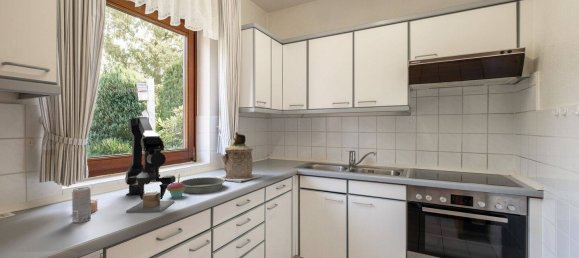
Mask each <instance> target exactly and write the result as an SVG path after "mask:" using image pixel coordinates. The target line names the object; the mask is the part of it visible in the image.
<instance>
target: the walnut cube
mask: <svg viewBox="0 0 579 258" xmlns="http://www.w3.org/2000/svg"><path fill="white" fill-rule="evenodd" d="M160 201H161V200H160V191H157V192H150V193H147V194H146V193H144V195H143V200H142V202H143V207H155V206H157V205H158V204H160Z"/></svg>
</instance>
